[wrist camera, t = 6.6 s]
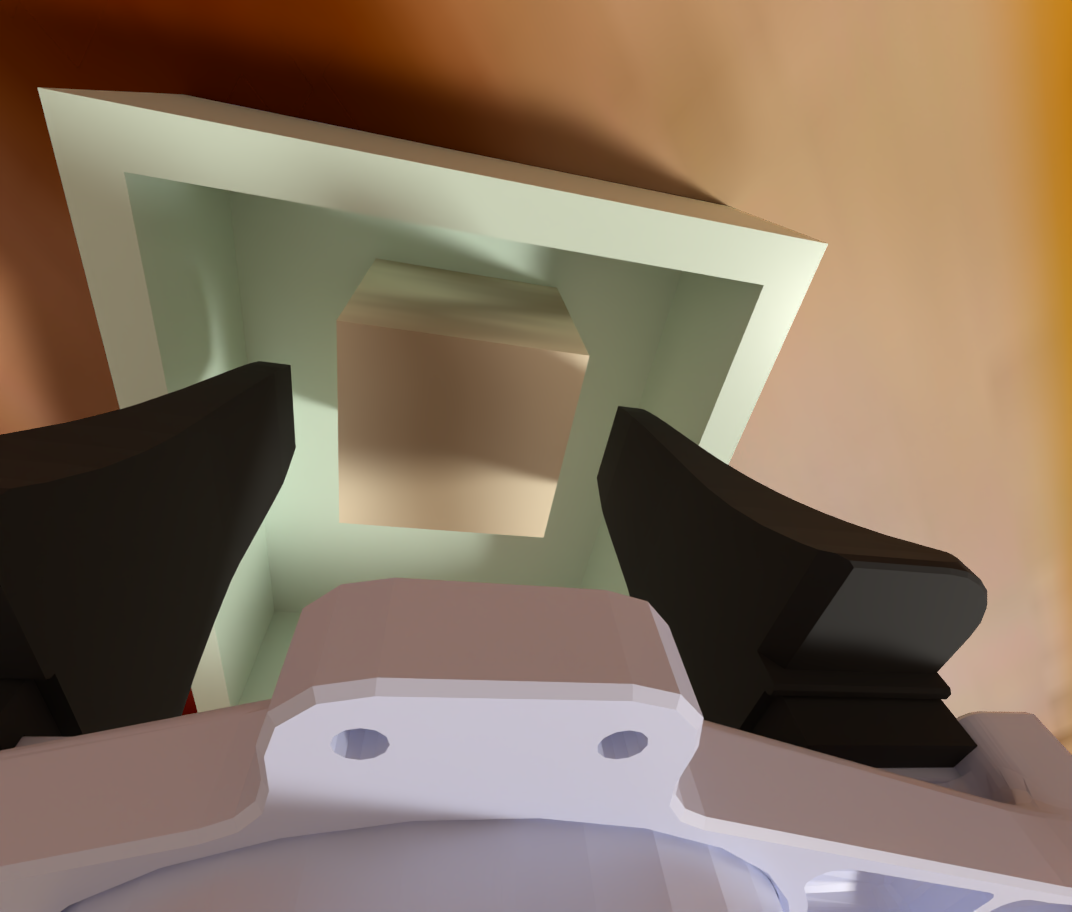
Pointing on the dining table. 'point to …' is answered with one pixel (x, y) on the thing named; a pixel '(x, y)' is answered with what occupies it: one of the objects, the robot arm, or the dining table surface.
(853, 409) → the dining table surface
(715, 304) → the tote
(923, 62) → the dining table surface
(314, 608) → the robot arm
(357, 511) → the birch cube
